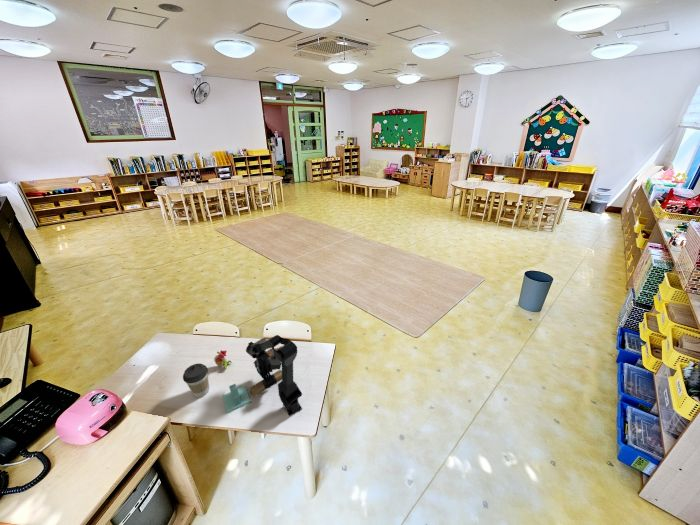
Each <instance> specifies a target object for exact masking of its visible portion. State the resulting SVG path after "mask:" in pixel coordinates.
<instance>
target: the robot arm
mask: <svg viewBox="0 0 700 525" xmlns="http://www.w3.org/2000/svg"><path fill="white" fill-rule="evenodd" d="M279 344H280V345H282V346H283V345H284V346H283V347H281V346H280V347H281V348H280V349H278V350H277V351H276V350H275V347H277V346H279ZM270 349H273V354H274V355H273V356H272V357H271V358H270V360H269V357H270V356H269V354H268V353H267V351H268V350H270ZM245 352H246V353H247V354H248V355H249V356H250V358H252V359H255V360H256V361H255V360H254V361H255V362H254V361H253V364H254V367H255V369H256V372H257V373H258V375H259V376H260V377H261V378H262V379H261V380H262V383H263V385H264V387H265V388H268V389H270V388H272V386H274V385H277V390H278V397H279V399H280V402H281V403H282V406H283V407H284V408H285V409H286V412H287V414H288V416H289V417H290V416H292V415H294V414H295V413H298V412H300V411H302V410H303V408H302V406H301V404H300V403H299V398H301V397H302V396H303V393H302V391H301V390H300V388H299V387H298V385H297V384H298V383H296V382H295V381H294V361H295V360H296V357H297V355H298V346H297V345H296V343H294V342H293V341H292V340H291V339H289V338H286V337H281V336H280V335H278V334H276V335H273V336H272V337H269V338H267V339H266V338H261V339H259V340H257V341H255V342H253V341H250V342H248V344H247V346H246V349H245ZM280 369H281V370H282V380H281V381H279V382H277V379H276V378H275V376H274V375H272V373H273V372H274V371H276V370H280Z"/></svg>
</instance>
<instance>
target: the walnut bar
mask: <svg viewBox="0 0 700 525" xmlns="http://www.w3.org/2000/svg"><path fill="white" fill-rule="evenodd" d="M271 375H274V376H275V378H276V379H277V383H280V382H281V381H282V368H280V369H278V371H275V372H274V373H271ZM262 380H263V379H261V380H260V381H258V382H256V383H254V384H253V385H251V386H249V387H248V390H249V393H250V395H251V397H252V398H254V397H256V396H258V395H260V394H262V392H264V391H266V390H268V389H269V388H265V387H264V385H263V383H262Z"/></svg>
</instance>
